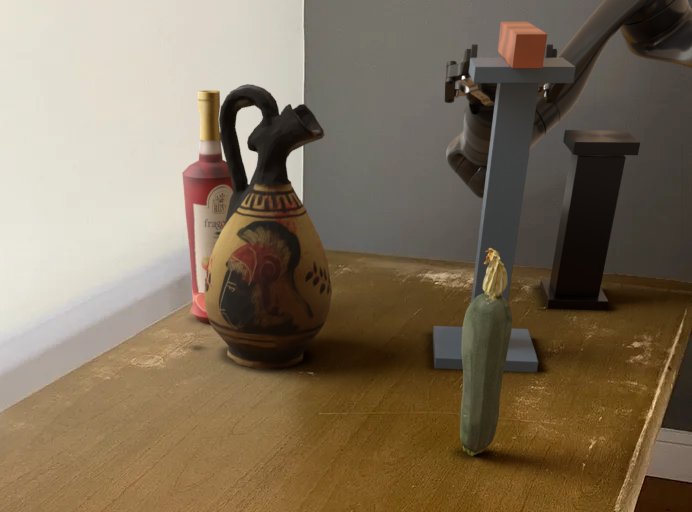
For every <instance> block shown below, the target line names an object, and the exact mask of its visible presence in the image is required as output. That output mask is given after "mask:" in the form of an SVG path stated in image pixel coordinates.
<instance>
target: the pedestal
mask: <svg viewBox="0 0 692 512" xmlns="http://www.w3.org/2000/svg"><path fill="white" fill-rule="evenodd" d="M563 133H564V134H563V139H562V142H563V144H565V146H566V147H567V149H568V150H569V151H570V157H569V164H568V172H567V177H566V182H565V187H564V196H563V200H562V207H561V212H560V219H559V223H558V224H559V225H558V231H557V237H556V243H555V249H554V256H553V260H552V261H553V262H552V267H551V273H550V279H543V278H542V279H540V282H539V283H540V285H539V290H540V293H541V296H542V298H543V301H544V304H545V307H546V309H548V310H570V311H572V310H573V311H603V312H604V311H605V312H607V311H608V306H609V300H608V298H607V296H606V294H605V292H604V291H603V289H602V282H603V276H604V272H605V266H606V261H607V256H608V251H609V246H610V240H611V237H612V230H613V225H614V220H615V216H616V210H617V204H618V198H619V196H620V195H619V194H620V189H621V184H622V180H623V174H624V170H625V165H626V164H625V163H626V158H627V157H626V156H638V155H639V153H640V152H639V151H640V146H641V142H640V141H639V140H638V139H637V138H635V137H634V136H633V135H632V134H631V133H629V132H628V130H625V129H624V130H623V129H621V130H617V129H615V130H613V129H612V130H611V129H565V130H564V132H563Z"/></svg>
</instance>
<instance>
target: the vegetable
mask: <svg viewBox="0 0 692 512" xmlns="http://www.w3.org/2000/svg"><path fill="white" fill-rule="evenodd" d="M485 252H489V253H488V256H487V257H486V262H485V263H484V264H487V263H488V262H489V261H490V263H489V265H488V268H487V270H486V275H485V278H484V280H483V290H484V292H485V293H483V294H481V295H479V296H477V297H476V298H475V299H474V300H473V301H472V302H471V301H470V304H469V305H468V306H467V309H466V311H465V314H464V318H463V321H462V326H461V327H462V348H461V353H462V364H463V369H462V372H463V373H462V395H461V403H460V422H459V423H460V425H459V438H460V443H461V445H462V450H463V452H464V453H467V455H469V456H470V457H474V456H475V455H477V454H482V453H483V452H484V451H485V450H486V449H487V448H488V447H489V446H490V445H491V444H492V442H493V440H494V438H495V435H496V431H497V427H498V423H499V417H500V404H501V403H500V402H501V401H500V400H501V391H502V383H503V376H504V372H505V371H504V366H505V362H506V358H507V352H508V345H509V341H510V336H511V330H512V329H513V314H512V309H511V307H510V304H509V301H508V302H507V301H506V300H505V299H504V298H503V296H502V292H503V291H504V290H505V288H506V286H507V272H506V269H505V268H504V264H503V263H502V262H501V261H500V257H499V253H498V252H497V251H496V250H494V249H492V248H489V249H488V251H485ZM489 258H490V260H489Z"/></svg>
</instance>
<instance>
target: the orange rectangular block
mask: <svg viewBox="0 0 692 512" xmlns="http://www.w3.org/2000/svg"><path fill="white" fill-rule="evenodd" d="M547 40H548V33H546V32H544V31H543V30H541V29H540V28H538V27H537V26H535V25H534V24H532V23H530V22H529V21H501V22H500V28H499V35H498V44H497V52H498V54H499V55H500V56H501V58H504V59H505V60H506V62H507V63H508V64H509V65H510V66H511V68H513V69H542V68H543V62H544V55H545V48H546V45H547Z"/></svg>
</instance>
